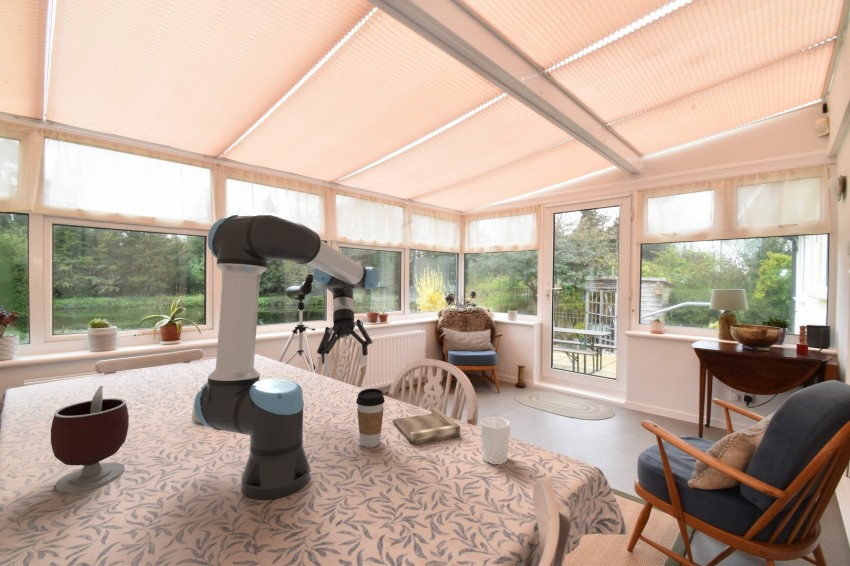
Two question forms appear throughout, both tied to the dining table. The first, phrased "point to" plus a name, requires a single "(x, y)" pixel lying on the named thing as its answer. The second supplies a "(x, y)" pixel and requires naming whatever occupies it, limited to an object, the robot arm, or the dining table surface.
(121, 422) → the mate gourd
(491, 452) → the white cup
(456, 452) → the dining table surface
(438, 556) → the dining table surface
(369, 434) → the coffee cup
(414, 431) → the wooden tray
